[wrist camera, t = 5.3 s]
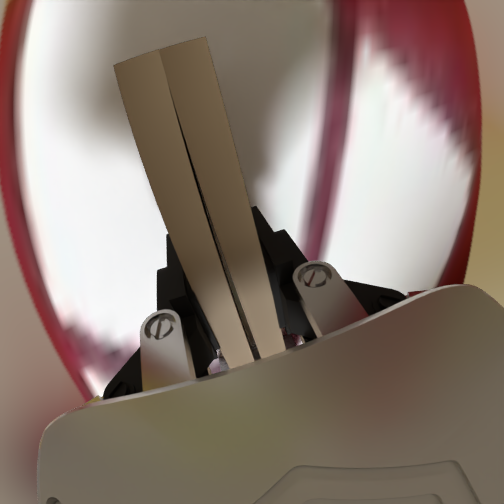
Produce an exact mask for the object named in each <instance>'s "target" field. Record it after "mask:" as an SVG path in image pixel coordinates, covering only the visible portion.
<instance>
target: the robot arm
mask: <svg viewBox="0 0 504 504" xmlns="http://www.w3.org/2000/svg"><path fill="white" fill-rule="evenodd" d="M251 211H252V215H253V219H254V223H255V227H256V231H257V235H258V239H259V243H260V247H261V251H262V255H263V259H264V263H265V267H266V271H267V275H268V279H269V283H270V287H271V291H272V295H273V300H274V304H275V309H276V314H277V319H278V323H279V328H280V329H281V328H285V330H286V332H287V334H288V335H289V334H291V333H294V334H297V335H300V337H301V341H302V343H303V344H301V345H299V346H296V347H293V348H291V349H288V350H285V351H283V352H280V353H277V354H274V355H271V356H268V357H265V358H263V359H260V360H257V361H254V362H251V363H247V364H244V365H241V366H238V367H235V368H232V369H228V370H225V371H222V372H218V373H215V374H212V373H211V370H210V368H209V365H210V364H211V362H212V361H213V360H214V359H217V358H218V355H217V351H216V350H218V349H221V348H220V346H219V344H218V342H217V340H216V338H215V336H214V333H213V331H212V329H211V327H210V325H209V323H208V321H207V319H206V317H205V315H204V313H203V310H202V308H201V306H200V304H199V302H198V300H197V297H196V295H195V293H194V291H193V290H192V288H191V286H190V284H189V281H188V279H187V277H186V274H185V272H184V270H183V267H182V265H181V263H180V260H179V258H178V255H177V253H176V251H175V248H174V246H173V243H172V241H171V238H170V236H169V234H167V235H166V242H167V267H165V268H162V269H159V270H157V312H154V313H152V314H151V315H150V316H148V317H147V318H146V319H145V321H144V322H143V324H142V326H141V329H140V348H139V349H138V350H137V351H136V352H135V353H134V354H133V356H132V357H131V358H130V359H129V360H128V361H127V363H126V364H125V365H124V366H123V367H122V368H121V370H120V371H119V372H118V373H117V374H116V375H115V377H114V378H113V379H112V380H111V381H110V382H109V384H108V385H107V387H106V388H105V391H104V394H103V397H100V396H99V395H98V396H96V397H95V398H93V399H92V400H90V401H88V402H87V403H85V404H84V405H82V406H80V407H77V408H75V409H72V410H70V411H68V412H66V413H64V414H62V415H61V416H59V417H57V418H56V419H54V420H53V421H52V422H51V423H50V424H49V425H48V426H47V427H46V429H45V430H44V432H43V435H42V438H41V441H40V446H39V453H38V464H37V494H38V504H504V308H503V307H502V306H501V305H500V304H499V303H498V302H497V301H496V300H495V299H494V298H492V297H491V296H490V295H489V294H487V293H486V292H484V291H483V290H482V289H480V288H478V287H475V286H472V285H467V284H455V285H447V286H442V287H438V288H434V289H431V290H424V291H414V292H408V295H406V296H404V294H402V293H400V292H399V291H396V290H393V289H388V288H383V287H378V286H373V285H368V284H363V283H358V282H353V281H348V280H343V279H342V278H341V276H340V275H339V274H338V272H337V271H336V269H335V268H334V267H333V266H332V265H330V264H328V263H326V262H322V261H310V262H308V260H307V259H306V258H305V256H304V255H303V254H302V252H301V251H300V249H299V248H298V247H297V245H296V244H295V243H294V241H293V240H292V239H291V237H290V236H289V234H288V233H287V232H286V231H285V230H284V229H283V230H280V231H277V232H274V231H273V230H272V228H271V227H270V225H269V224H268V223H267V221H266V220H265V218H264V217H263V215H262V214H261V212H260V211H259V209H258V208H257V206H254V207H251Z"/></svg>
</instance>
